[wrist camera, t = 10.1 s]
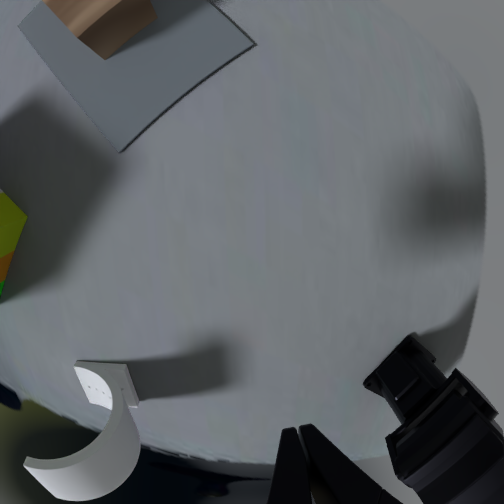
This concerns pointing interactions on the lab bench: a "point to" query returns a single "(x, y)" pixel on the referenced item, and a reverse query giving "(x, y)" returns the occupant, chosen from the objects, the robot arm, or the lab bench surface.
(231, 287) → the lab bench surface
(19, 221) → the puzzle toy
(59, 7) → the walnut block
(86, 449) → the headphone stand
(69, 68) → the slate mat
